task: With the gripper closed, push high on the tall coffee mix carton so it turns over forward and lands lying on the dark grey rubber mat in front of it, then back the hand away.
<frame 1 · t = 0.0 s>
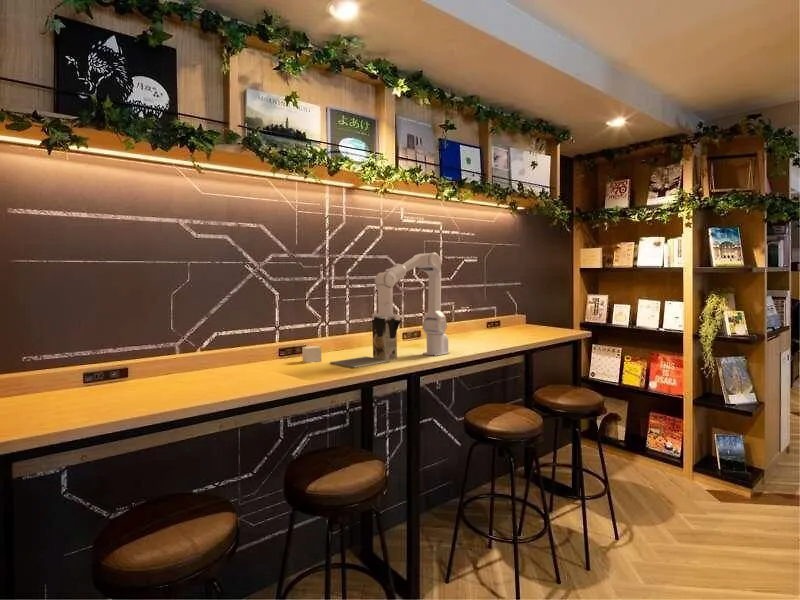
hand: (386, 337, 181), 10 cm above the bar counter, tool pointing down, fingers open, 7 cm apart
mat: (360, 362, 182), on the bar counter
coffee box: (385, 359, 191), on the bar counter
white cube: (311, 362, 188), on the bar counter
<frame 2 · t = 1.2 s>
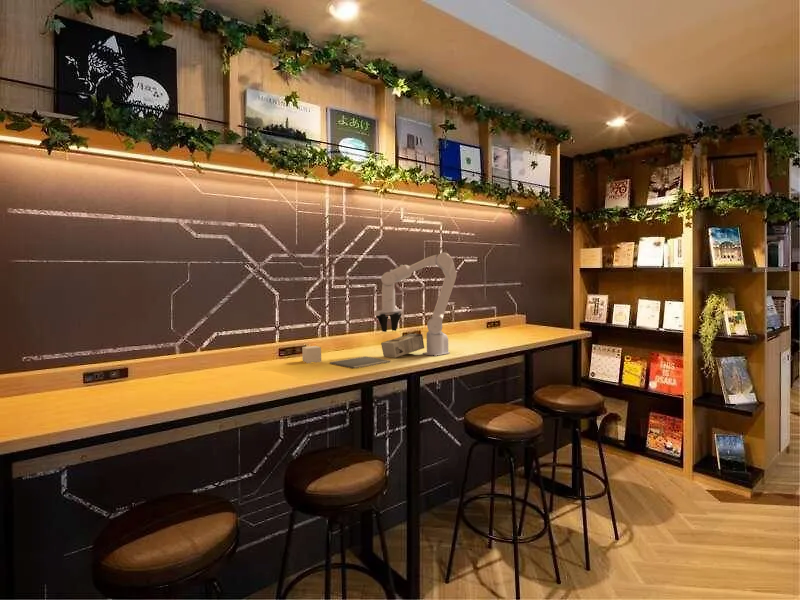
hand: (389, 331, 201), 10 cm above the bar counter, tool pointing down, fingers open, 5 cm apart
coffee box: (387, 350, 193), point 3 cm above the bar counter, touching arm
everything else where it was.
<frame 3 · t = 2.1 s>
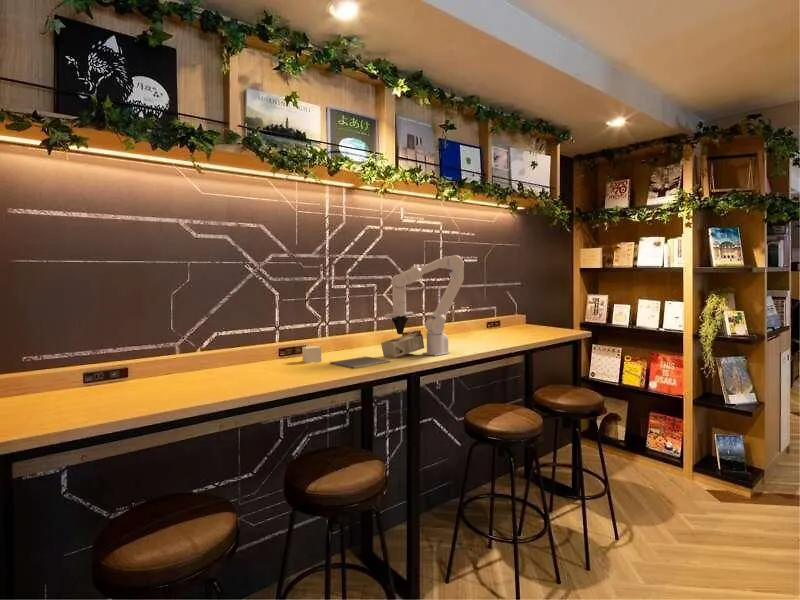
hand: (400, 334, 197), 9 cm above the bar counter, tool pointing down, fingers closed
nothing on the bar counter moved.
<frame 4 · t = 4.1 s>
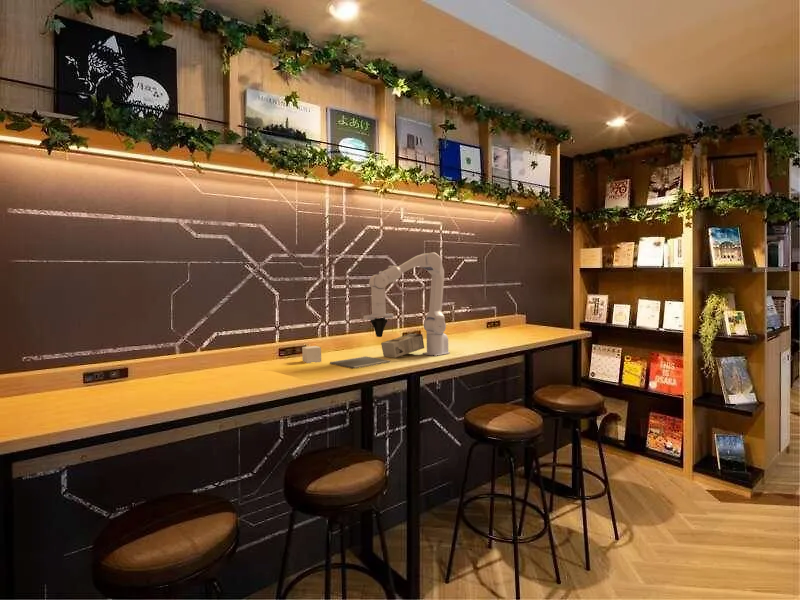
hand: (379, 336, 189), 9 cm above the bar counter, tool pointing down, fingers closed
nothing on the bar counter moved.
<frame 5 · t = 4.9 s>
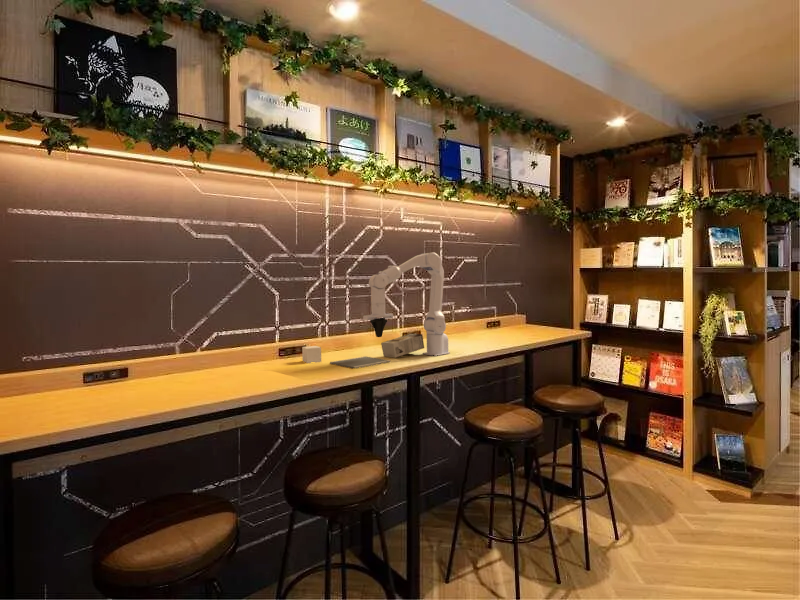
hand: (379, 336, 189), 9 cm above the bar counter, tool pointing down, fingers closed
nothing on the bar counter moved.
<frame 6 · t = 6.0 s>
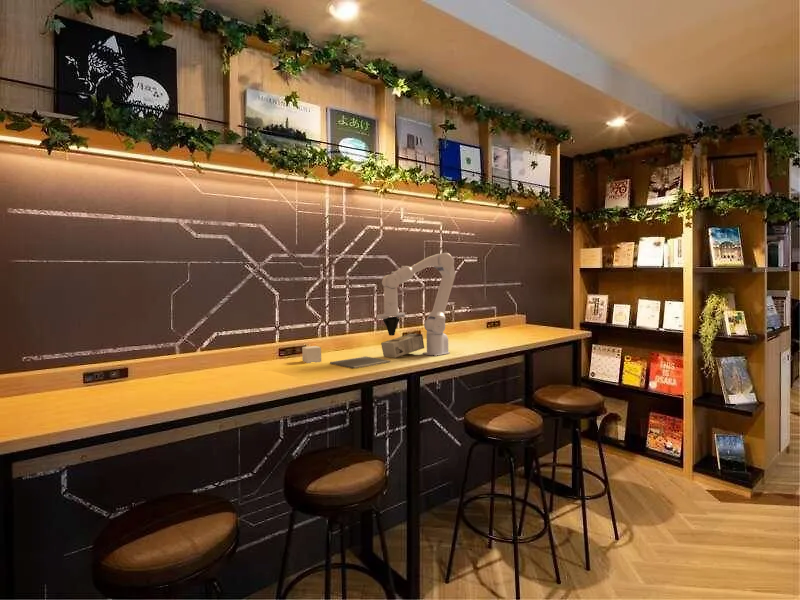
hand: (391, 335, 194), 9 cm above the bar counter, tool pointing down, fingers closed
nothing on the bar counter moved.
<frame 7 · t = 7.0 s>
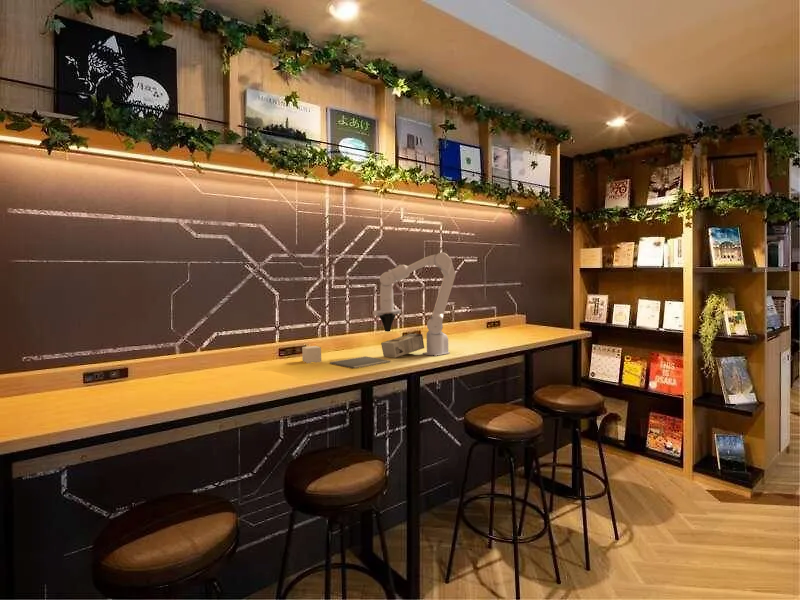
hand: (387, 331, 200), 10 cm above the bar counter, tool pointing down, fingers closed
nothing on the bar counter moved.
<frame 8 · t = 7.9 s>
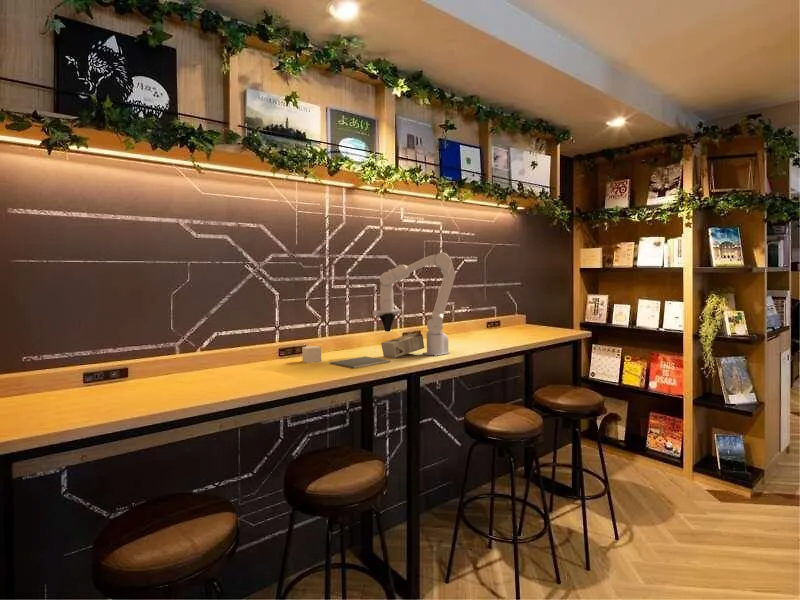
hand: (387, 331, 200), 10 cm above the bar counter, tool pointing down, fingers closed
nothing on the bar counter moved.
at the end: coffee box tilted 81°; coffee box inside the target area (10.5 cm from its centre), point 3.3 cm above the bar counter; the gripper is holding nothing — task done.
